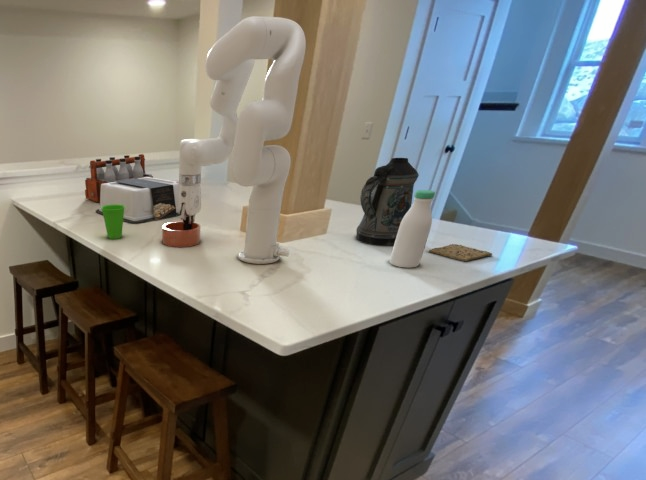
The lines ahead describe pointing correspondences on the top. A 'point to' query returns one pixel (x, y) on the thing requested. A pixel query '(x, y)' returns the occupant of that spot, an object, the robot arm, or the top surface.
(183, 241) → the bowl
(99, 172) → the milk bottle holder
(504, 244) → the top surface
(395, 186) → the beer stein
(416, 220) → the milk bottle
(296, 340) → the top surface
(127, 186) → the cake box
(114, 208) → the cup
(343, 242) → the top surface
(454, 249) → the cookie
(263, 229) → the robot arm
